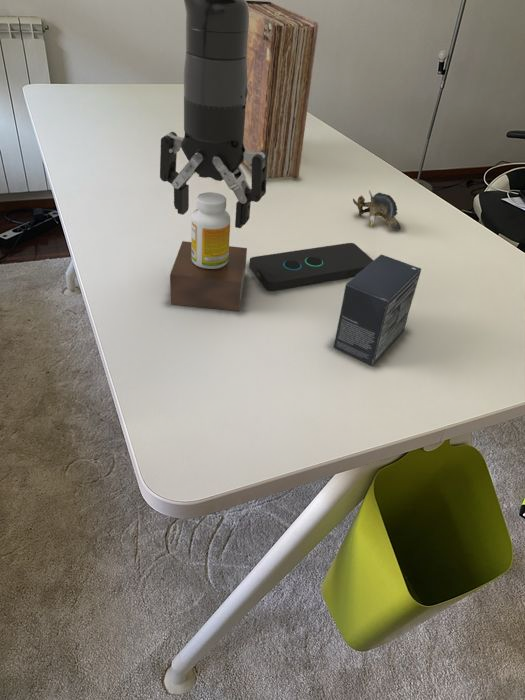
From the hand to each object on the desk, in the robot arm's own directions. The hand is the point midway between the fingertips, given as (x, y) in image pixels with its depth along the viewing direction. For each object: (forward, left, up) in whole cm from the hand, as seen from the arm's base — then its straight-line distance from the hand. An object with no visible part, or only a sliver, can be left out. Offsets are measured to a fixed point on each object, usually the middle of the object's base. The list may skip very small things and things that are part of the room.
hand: (211, 219), depth 76 cm
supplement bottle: (0, 0, -7) cm, 7 cm away
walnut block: (0, 0, -12) cm, 12 cm away
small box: (+25, -2, -12) cm, 28 cm away
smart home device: (+13, +13, -12) cm, 22 cm away
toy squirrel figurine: (+20, +36, -12) cm, 43 cm away
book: (-11, +56, -12) cm, 58 cm away
